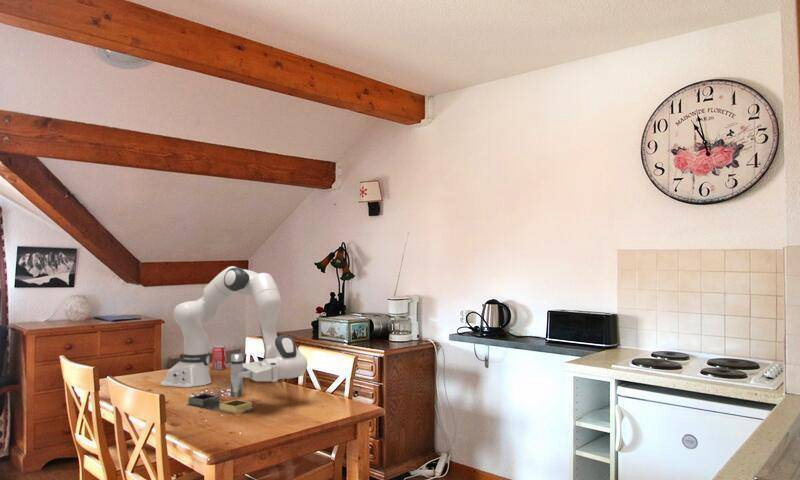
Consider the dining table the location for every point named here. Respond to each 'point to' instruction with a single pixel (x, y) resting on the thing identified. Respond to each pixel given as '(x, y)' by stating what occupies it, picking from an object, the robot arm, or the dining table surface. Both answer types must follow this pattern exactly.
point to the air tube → (235, 381)
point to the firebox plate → (220, 404)
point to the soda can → (219, 357)
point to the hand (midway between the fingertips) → (234, 373)
